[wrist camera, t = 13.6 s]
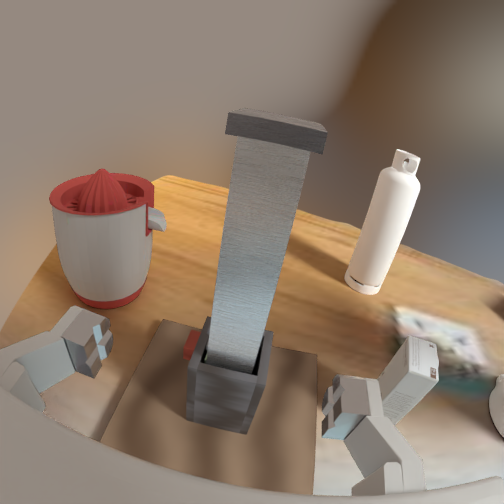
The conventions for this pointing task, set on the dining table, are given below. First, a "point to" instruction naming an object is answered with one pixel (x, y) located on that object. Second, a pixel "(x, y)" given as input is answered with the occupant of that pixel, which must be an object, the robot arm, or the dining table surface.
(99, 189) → the citrus juicer
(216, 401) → the stand
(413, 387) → the skincare box
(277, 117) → the column
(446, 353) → the dining table surface
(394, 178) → the bottle
